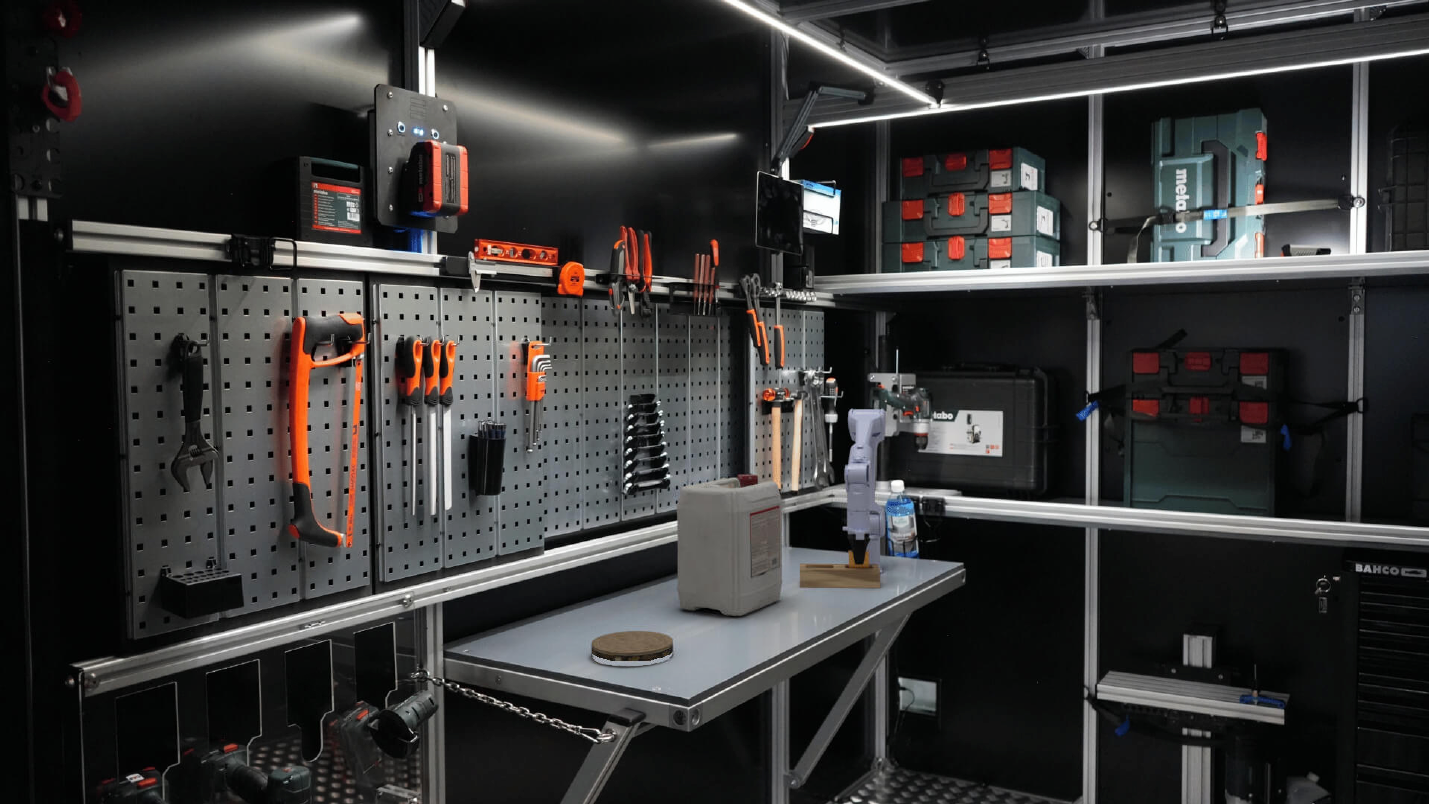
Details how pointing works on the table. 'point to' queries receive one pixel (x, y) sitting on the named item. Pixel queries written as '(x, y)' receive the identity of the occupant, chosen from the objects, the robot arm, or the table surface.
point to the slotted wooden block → (839, 576)
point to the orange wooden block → (852, 563)
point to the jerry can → (729, 545)
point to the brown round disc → (632, 646)
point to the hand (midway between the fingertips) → (858, 563)
